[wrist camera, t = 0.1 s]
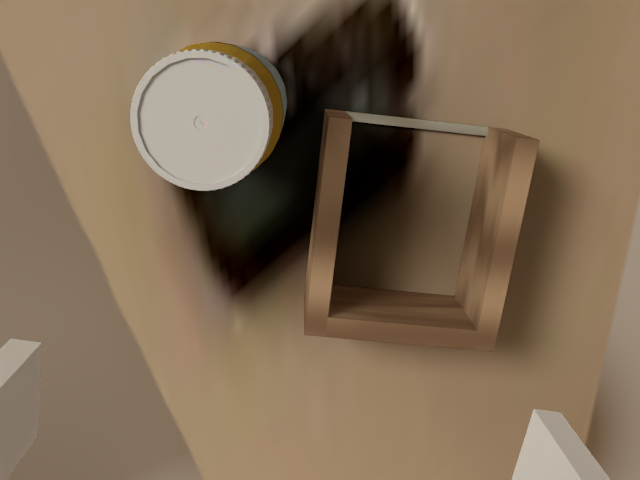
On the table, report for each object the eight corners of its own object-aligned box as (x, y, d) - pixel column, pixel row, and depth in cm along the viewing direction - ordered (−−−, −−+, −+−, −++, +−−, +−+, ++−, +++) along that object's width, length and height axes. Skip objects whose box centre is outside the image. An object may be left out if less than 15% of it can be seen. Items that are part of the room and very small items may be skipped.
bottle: (304, 123, 41) (307, 158, 26) (215, 168, 41) (171, 226, 27) (257, 27, 39) (231, 8, 24) (164, 76, 40) (87, 85, 25)
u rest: (324, 108, 40) (328, 117, 35) (506, 129, 41) (539, 140, 36) (303, 299, 45) (304, 335, 39) (469, 314, 45) (493, 351, 40)
